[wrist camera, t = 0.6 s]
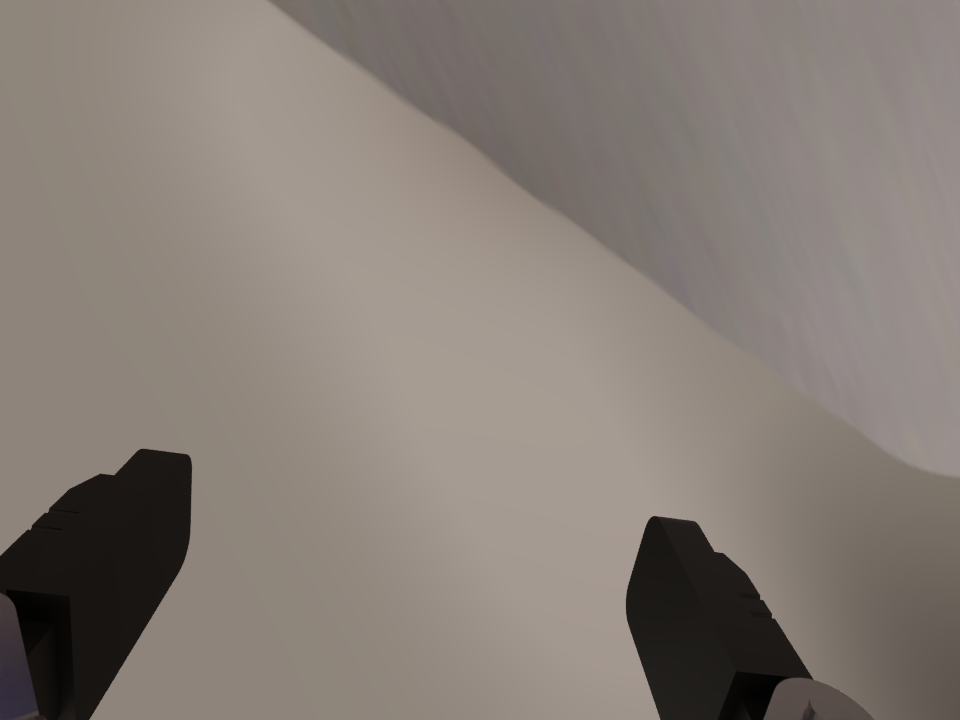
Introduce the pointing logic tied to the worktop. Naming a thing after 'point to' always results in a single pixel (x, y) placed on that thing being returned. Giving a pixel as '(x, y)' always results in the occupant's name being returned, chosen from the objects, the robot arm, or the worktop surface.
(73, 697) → the robot arm
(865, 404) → the worktop surface
